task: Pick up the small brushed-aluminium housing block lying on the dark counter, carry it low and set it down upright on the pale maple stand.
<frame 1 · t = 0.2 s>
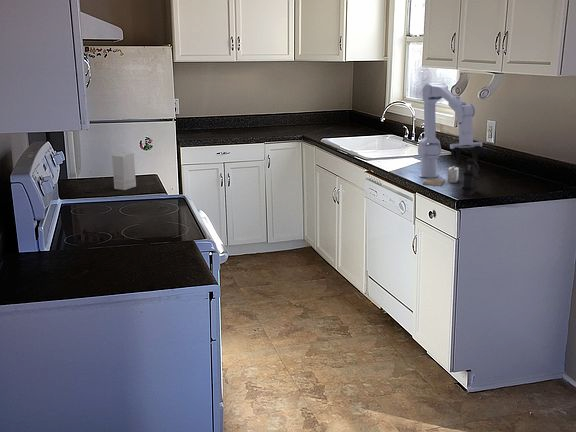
hand: (466, 164, 286), 11 cm above the worktop, tool pointing down, fingers open, 7 cm apart
housing: (452, 181, 304), on the worktop
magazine: (470, 193, 280), on the worktop
skincare box: (125, 188, 299), on the worktop
stand: (433, 183, 300), on the worktop
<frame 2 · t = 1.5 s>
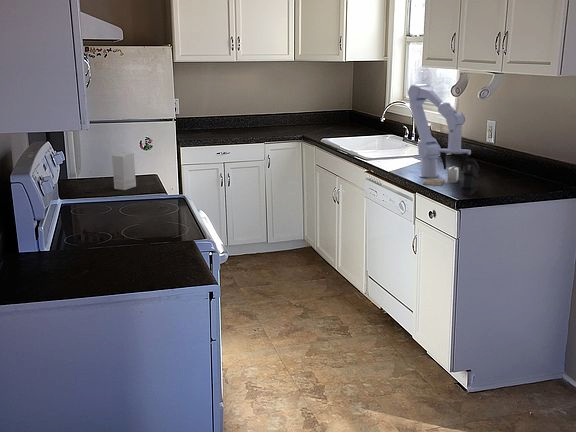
hand: (453, 169, 303), 5 cm above the worktop, tool pointing down, fingers open, 7 cm apart
nothing on the worktop moved.
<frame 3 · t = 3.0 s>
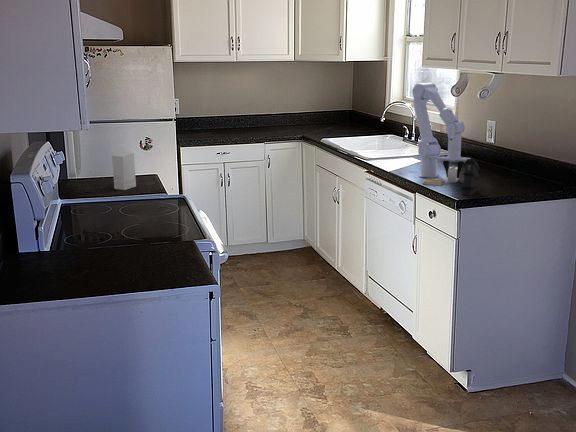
hand: (452, 177, 304), 2 cm above the worktop, tool pointing down, fingers closed on housing, 4 cm apart
housing: (452, 181, 304), on the worktop, touching gripper
everything else where it was.
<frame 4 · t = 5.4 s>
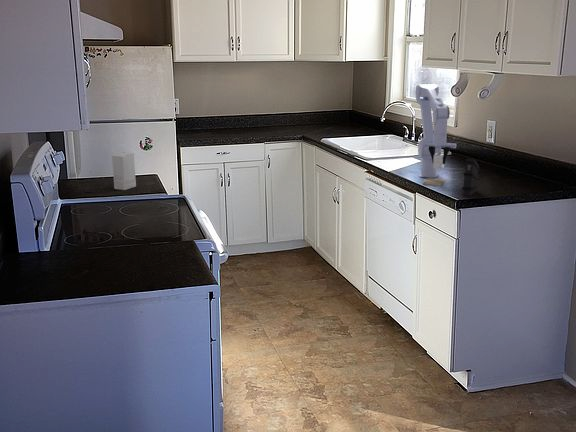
hand: (438, 163, 298), 9 cm above the worktop, tool pointing down, fingers closed on housing, 4 cm apart
housing: (438, 167, 299), point 7 cm above the worktop, touching gripper
everything else where it was.
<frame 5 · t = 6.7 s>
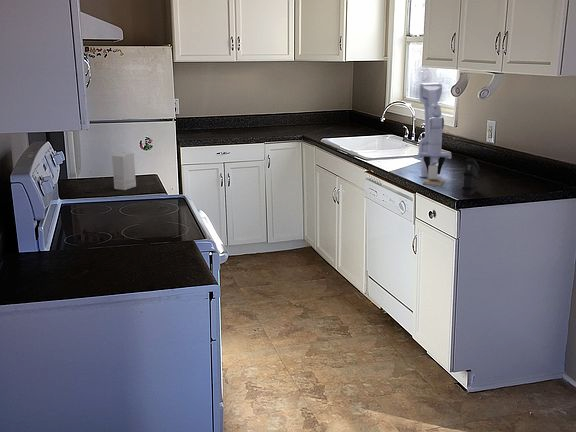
hand: (433, 173, 298), 5 cm above the worktop, tool pointing down, fingers closed on housing, 4 cm apart
housing: (433, 177, 299), point 3 cm above the worktop, touching gripper
everything else where it was.
when the fingers open (4 cm above the worktop, at t = 7.7 s): housing stays where it is, resting on stand.
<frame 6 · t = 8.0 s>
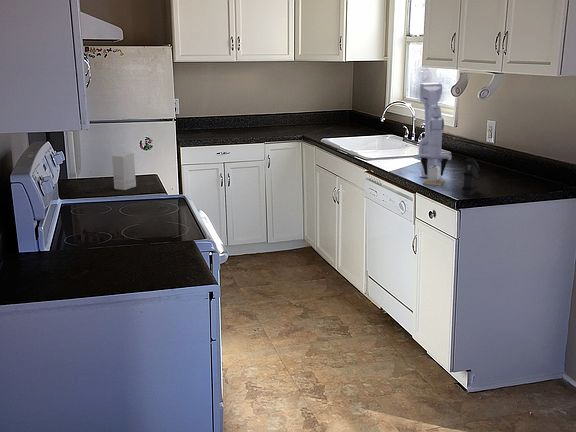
hand: (433, 174, 299), 4 cm above the worktop, tool pointing down, fingers open, 6 cm apart
housing: (433, 180, 299), point 1 cm above the worktop, touching stand
everything else where it was.
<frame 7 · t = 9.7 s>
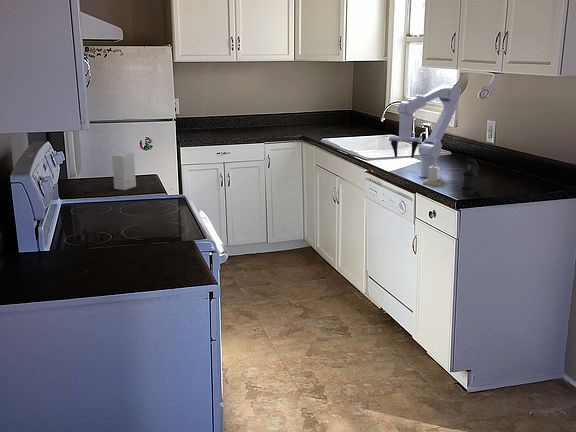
hand: (404, 157, 307), 10 cm above the worktop, tool pointing down, fingers open, 7 cm apart
nothing on the worktop moved.
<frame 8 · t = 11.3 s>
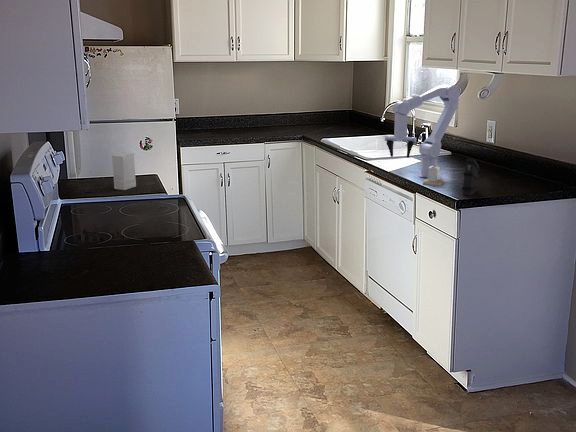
hand: (399, 156, 308), 10 cm above the worktop, tool pointing down, fingers open, 7 cm apart
nothing on the worktop moved.
at the end: housing inside the target area on the stand (0.1 cm from its centre), point 1.5 cm above the stand's base; housing tilted 0°; the gripper is holding nothing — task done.
